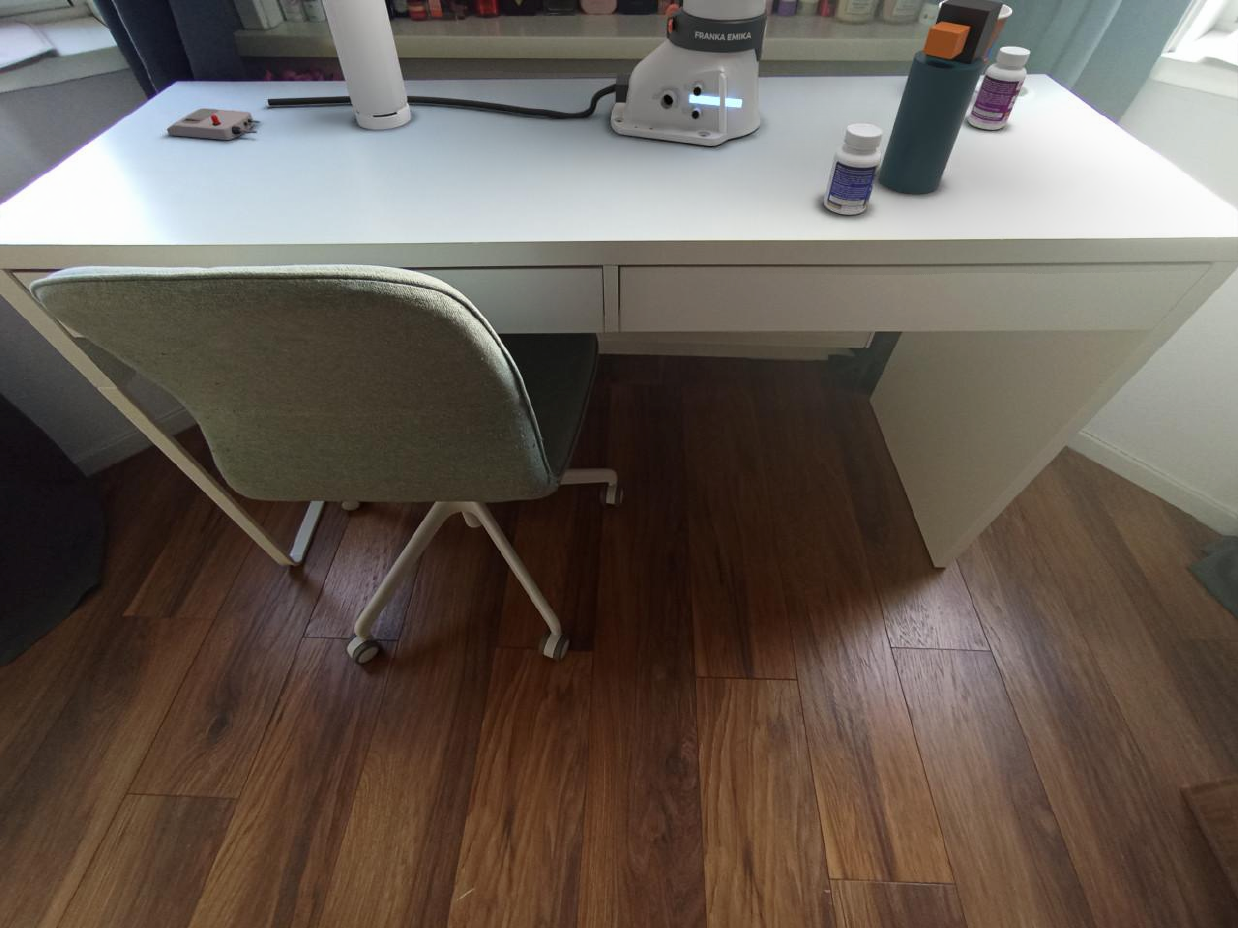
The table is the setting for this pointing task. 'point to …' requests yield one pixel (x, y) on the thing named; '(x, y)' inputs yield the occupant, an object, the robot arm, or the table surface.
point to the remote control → (213, 124)
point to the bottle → (369, 61)
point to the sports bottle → (937, 102)
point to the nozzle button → (946, 40)
